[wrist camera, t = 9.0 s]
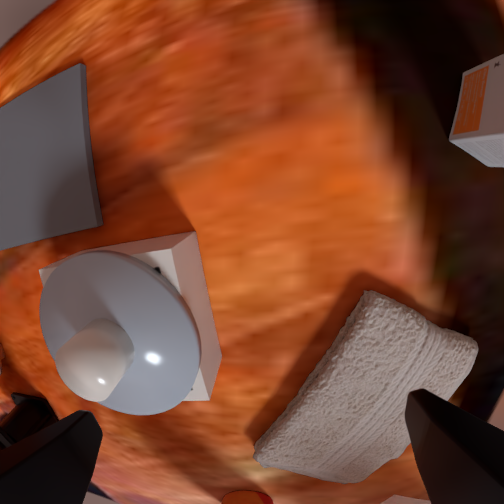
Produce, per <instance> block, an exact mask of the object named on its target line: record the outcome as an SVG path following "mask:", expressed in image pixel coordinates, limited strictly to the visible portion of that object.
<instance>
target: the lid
mask: <svg viewBox="0 0 504 504" xmlns="http://www.w3.org/2000/svg"><path fill="white" fill-rule="evenodd" d="M40 323H41V328H42V333H43V336H44V339H45V342H46V345H47V347H48V349H49V351H50V354H51V355H52V357H53V359H54V361H55V363H56V368H57V371H58V373H59V375H60V377H61V379H62V380H63V381H64V383H65V384H66V385H67V386H68V387H69V388H70V389H71V390H72V391H73V392H74V393H75V394H77V395H78V396H80V397H82V398H84V399H86V400H89V401H94V402H98V403H99V404H101V405H103V406H106V407H108V408H110V409H113V410H116V411H119V412H122V413H127V414H133V415H152V414H158V413H162V412H165V411H167V410H169V409H172V408H173V407H175V406H176V405H178V404H179V403H180V402H181V401H182V400H183V399H185V397H186V396H187V395H188V393H189V392H190V390H191V388H192V386H193V384H194V382H195V379H196V377H197V374H198V371H199V367H200V364H201V355H202V350H201V339H200V334H199V330H198V327H197V324H196V321H195V318H194V316H193V314H192V312H191V310H190V308H189V306H188V305H187V303H186V302H185V300H184V298H183V297H182V296H181V294H180V293H179V292H178V291H177V289H176V288H175V287H174V286H173V285H172V284H171V283H170V282H169V281H168V280H167V279H166V278H165V277H164V276H163V275H162V274H161V273H159V272H158V271H157V270H156V269H154V268H153V267H151V266H150V265H148V264H147V263H145V262H143V261H141V260H139V259H137V258H135V257H133V256H130V255H127V254H125V253H121V252H116V251H111V250H95V251H89V252H86V253H82V254H80V255H77V256H75V257H73V258H71V259H69V260H67V261H65V262H63V263H62V264H61V265H59V266H58V267H57V268H56V269H55V270H54V271H53V272H52V273H51V274H50V276H49V278H48V279H47V281H46V283H45V285H44V288H43V290H42V294H41V299H40Z"/></svg>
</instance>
